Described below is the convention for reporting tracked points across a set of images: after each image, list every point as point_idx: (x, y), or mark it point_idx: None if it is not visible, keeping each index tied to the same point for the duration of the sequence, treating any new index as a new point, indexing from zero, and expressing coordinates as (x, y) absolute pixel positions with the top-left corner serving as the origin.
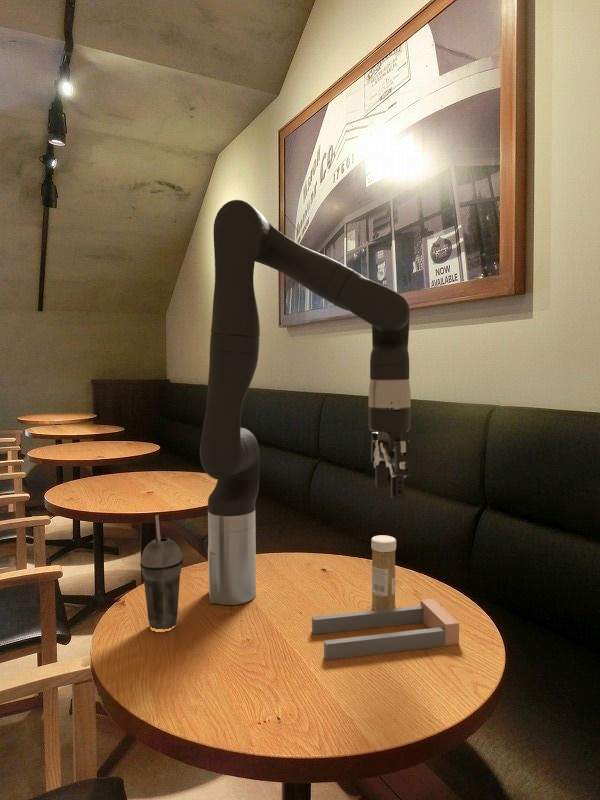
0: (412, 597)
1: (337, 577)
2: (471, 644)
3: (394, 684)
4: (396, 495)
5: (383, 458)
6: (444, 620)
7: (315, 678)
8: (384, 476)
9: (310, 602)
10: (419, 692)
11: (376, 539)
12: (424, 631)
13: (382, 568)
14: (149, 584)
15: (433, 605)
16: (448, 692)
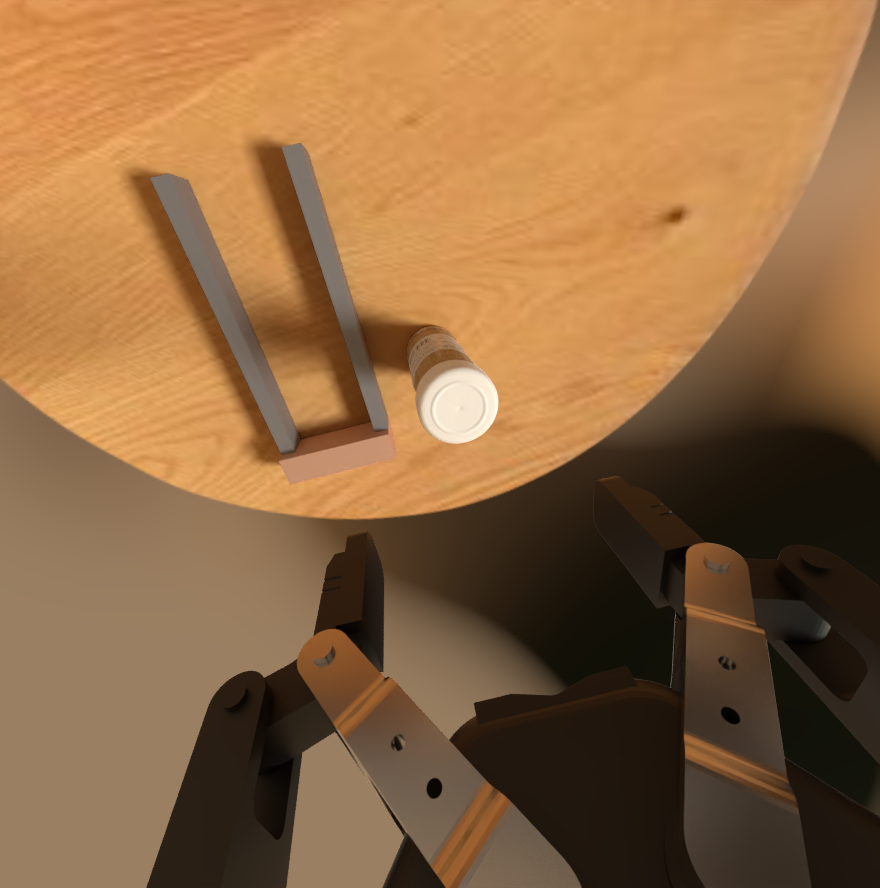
0: None
1: (616, 254)
2: None
3: (121, 331)
4: (334, 561)
5: (570, 692)
6: (296, 462)
7: (81, 148)
8: (627, 553)
9: (473, 157)
10: (110, 372)
11: (449, 384)
12: (270, 418)
13: (415, 374)
14: None
15: (363, 453)
16: (129, 418)
